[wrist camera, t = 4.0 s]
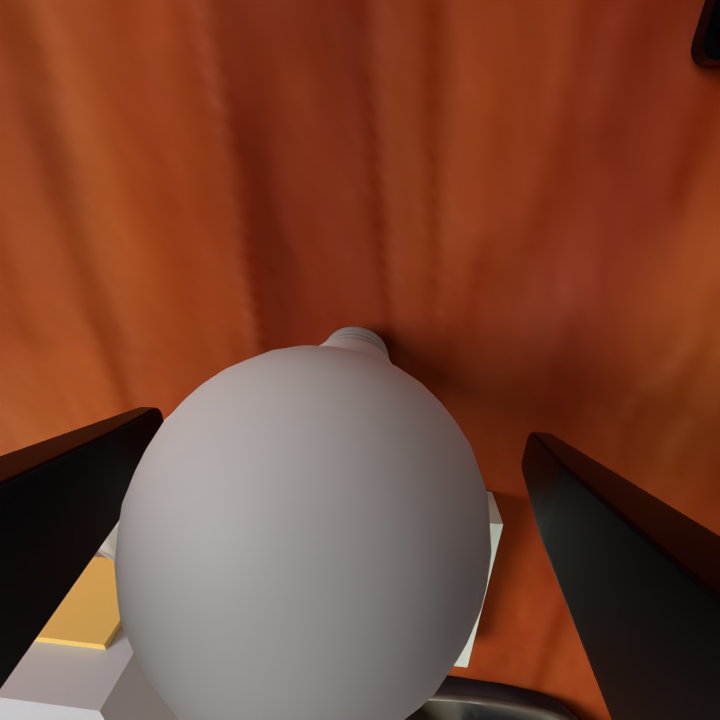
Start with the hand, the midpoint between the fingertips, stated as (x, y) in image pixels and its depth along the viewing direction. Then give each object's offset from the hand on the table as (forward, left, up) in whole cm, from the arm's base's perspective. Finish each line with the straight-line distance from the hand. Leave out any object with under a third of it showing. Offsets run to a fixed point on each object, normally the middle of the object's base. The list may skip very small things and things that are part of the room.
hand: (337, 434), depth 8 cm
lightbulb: (0, 0, -6) cm, 6 cm away
